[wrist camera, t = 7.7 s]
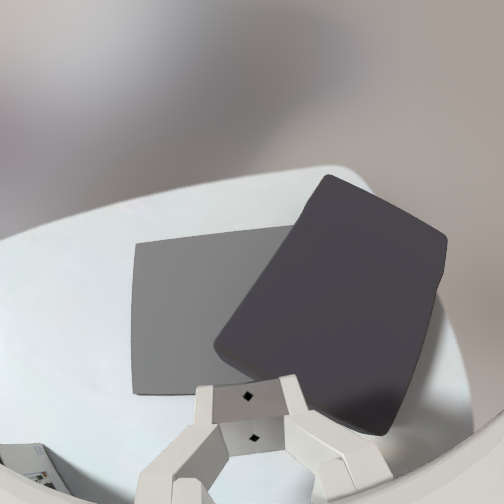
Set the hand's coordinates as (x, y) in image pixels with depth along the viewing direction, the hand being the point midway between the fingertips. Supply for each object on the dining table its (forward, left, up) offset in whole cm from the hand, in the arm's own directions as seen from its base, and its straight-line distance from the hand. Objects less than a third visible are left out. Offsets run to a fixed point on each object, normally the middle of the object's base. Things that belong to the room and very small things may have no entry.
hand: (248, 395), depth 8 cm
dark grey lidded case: (-1, -2, -7) cm, 7 cm away
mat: (+6, -1, -10) cm, 11 cm away
